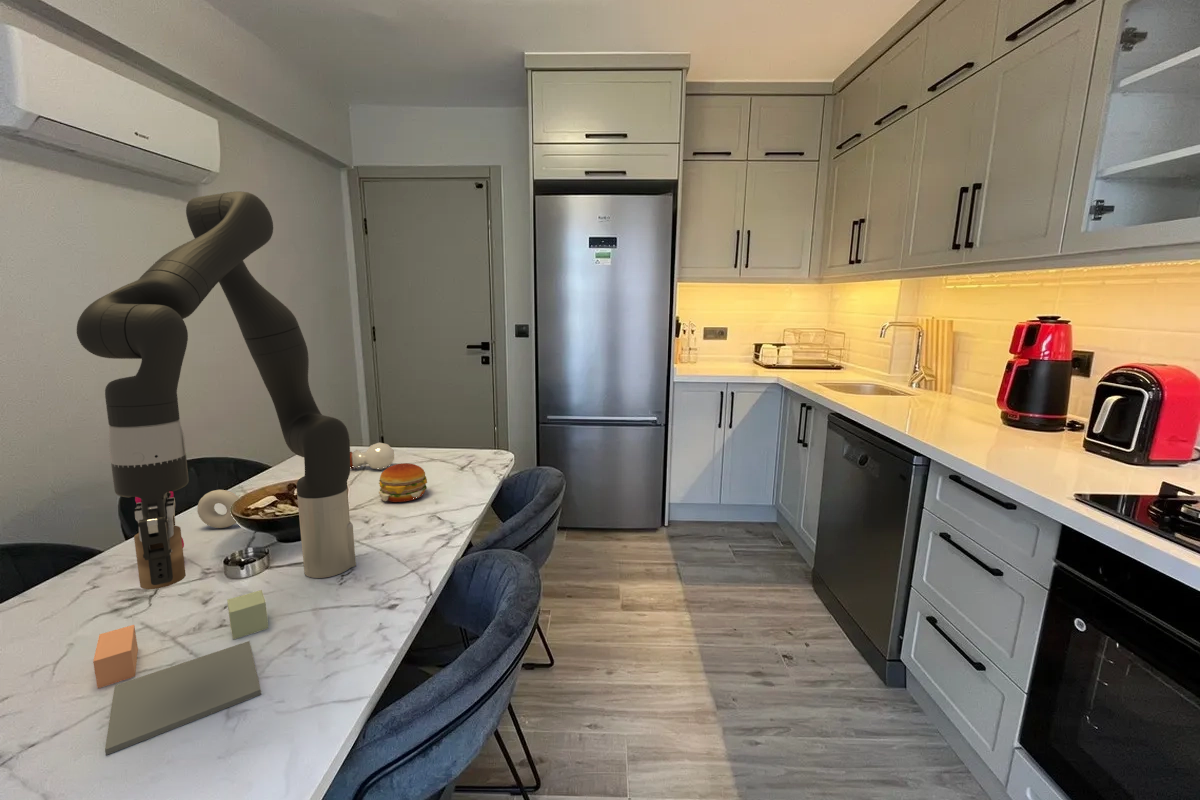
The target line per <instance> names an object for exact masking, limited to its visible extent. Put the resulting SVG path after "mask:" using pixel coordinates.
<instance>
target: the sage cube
mask: <svg viewBox="0 0 1200 800" xmlns="http://www.w3.org/2000/svg"><path fill="white" fill-rule="evenodd" d="M226 601H227V611H228V617H229V625H230V631H231V637H232V640H237V639H240V638H243V637H246V636H249V635H252V634H256V633H258V632H261V631H265V630H268V629H269V621H268V613H267V611H268V609H267V602H266V599H265V596H264V592H263V590H262V589H260V590H257V591H252V592H250V593H246V594H243V595H242V594H241V595H239V596H235V597H232V598H228V599H227V600H226Z"/></svg>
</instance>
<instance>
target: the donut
mask: <svg viewBox="0 0 1200 800" xmlns="http://www.w3.org/2000/svg"><path fill="white" fill-rule="evenodd" d="M238 499H240V497H239V496H238V495H237V494H235V493H234V492H232V491H229V490H226V489H225V490H224V489H216V490H211V491H209V492H207V493H205V494H204V495H203V496H202V497H201V498H200V499H199V501H198V503H197V514H198V517H199V518H200V520H201V521H202V522H203V523H204V524H205V525H206V526H209V527H211V528H213V529H214V528H216V529H224V528H229V527H232V526H233V525H235V524H236V523H237V522H236V521H235V520H234V519H233V517H232V516H231V513H230V507H231V505H232V504H233V503H234V502H235V501H237V500H238ZM216 504H221V505H223V506H224V507H225V509H226V513H224V514H221V513H218V512H217V511H216V510H215V505H216Z"/></svg>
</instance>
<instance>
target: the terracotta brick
mask: <svg viewBox="0 0 1200 800" xmlns="http://www.w3.org/2000/svg"><path fill="white" fill-rule="evenodd" d="M136 634H137V633H136V628H135V624H131V625H128V626H125V627H120V628H117V629H113V630H110V631H109V630H108V631H107V632H106V631H105V632H103V633H99V635H98V638H97V642H96V648H95V653H94V657H93V661H92V662H93V663H92V664H93V668H94V669H93V670H94V675H95V676H94V677H95V681H96V687H97V689H101V688H104V687H107V686H110V685H114V684H117V683H119V682H121V681H125V680H126V681H127V680H128V679H133V678H135V677H136V672H137V662H138V653H139V646H138V639H137V635H136Z"/></svg>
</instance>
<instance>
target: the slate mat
mask: <svg viewBox="0 0 1200 800" xmlns="http://www.w3.org/2000/svg"><path fill="white" fill-rule="evenodd" d="M253 655H254V654H253V651H252V645H251V642H250V640H247V641H244V642H241V643H239V644H234V645H233V646H229V647H227V648H224V649H220V650H217V651H214V652H211V653H208V654H205V655H202V656H200V657H196V658H193V659H190V660H188V661H183V662H182V663H178V664H174V665H173V666H169V667H166V668H163V669H161V670H157V671H153V672H151V673H147V674H145V675H143V676H139V677H137V678H132V679H130V680H126V681H124V682H121V683H119V684H117V683H116V684H115V685H114V687H113V694H112V702H111V707H110V713H109V719H108V720H109V722H108V726H107V734H106V739H105V740H106V741H105V746H104V747H105V748H104V752H105V756H108V755H110V754H113V753H115V752H118V751H121V750H123V749H126V748H128V747H131V746H133V745H136V744H139V743H140V742H143V741H146V740H148V739H151V738H154V737H156V736H159V735H162V734H163V733H167V732H169V731H172V730H174V729H176V728H179V727H182V726H184V725H187V724H190V723H192V722H195V721H197V720H200V719H203V718H205V717H207V716H210V715H212V714H215V713H218V712H220V711H223V710H225V709H227V708H230V707H233V706H235V705H238V704H240V703H243V702H246V701H249V700H250V699H253V698H256V697H259V696H261V695H262V690H261V684H260V680H259V676H258V671H257V669H256V663H255V658H254V656H253Z"/></svg>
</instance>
